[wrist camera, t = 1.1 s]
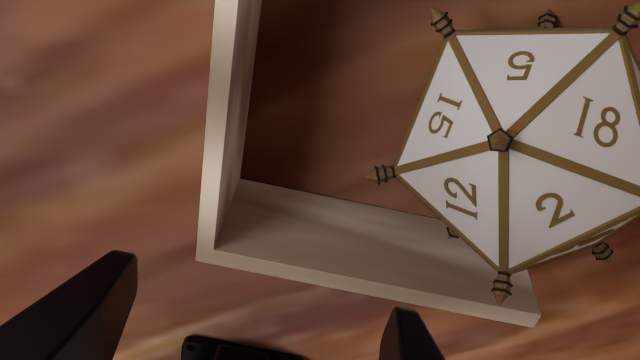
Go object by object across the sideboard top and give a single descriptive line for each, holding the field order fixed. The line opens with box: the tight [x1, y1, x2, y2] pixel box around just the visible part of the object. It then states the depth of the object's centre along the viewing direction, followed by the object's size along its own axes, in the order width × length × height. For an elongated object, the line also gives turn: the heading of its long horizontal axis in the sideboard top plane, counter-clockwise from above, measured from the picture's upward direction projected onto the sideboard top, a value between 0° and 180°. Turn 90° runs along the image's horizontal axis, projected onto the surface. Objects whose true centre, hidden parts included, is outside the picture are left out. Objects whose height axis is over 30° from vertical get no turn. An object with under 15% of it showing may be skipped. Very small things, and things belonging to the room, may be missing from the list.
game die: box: [364, 1, 640, 306], centre depth 17 cm, size 9×8×10 cm
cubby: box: [196, 0, 541, 328], centre depth 18 cm, size 14×13×4 cm
